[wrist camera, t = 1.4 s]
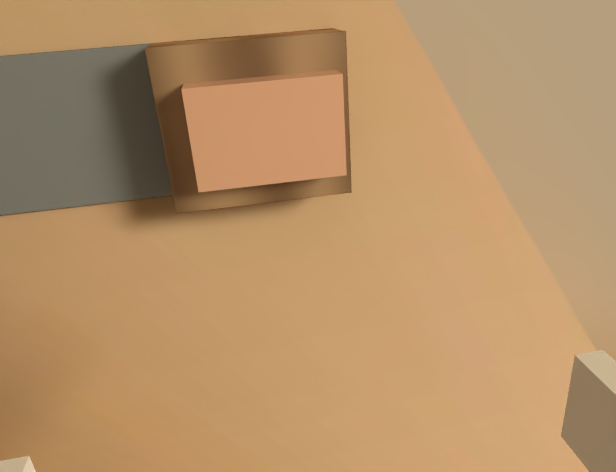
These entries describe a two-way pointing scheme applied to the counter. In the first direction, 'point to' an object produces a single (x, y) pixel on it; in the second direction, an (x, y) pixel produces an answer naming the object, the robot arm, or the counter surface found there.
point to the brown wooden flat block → (235, 65)
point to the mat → (79, 130)
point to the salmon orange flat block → (266, 129)
